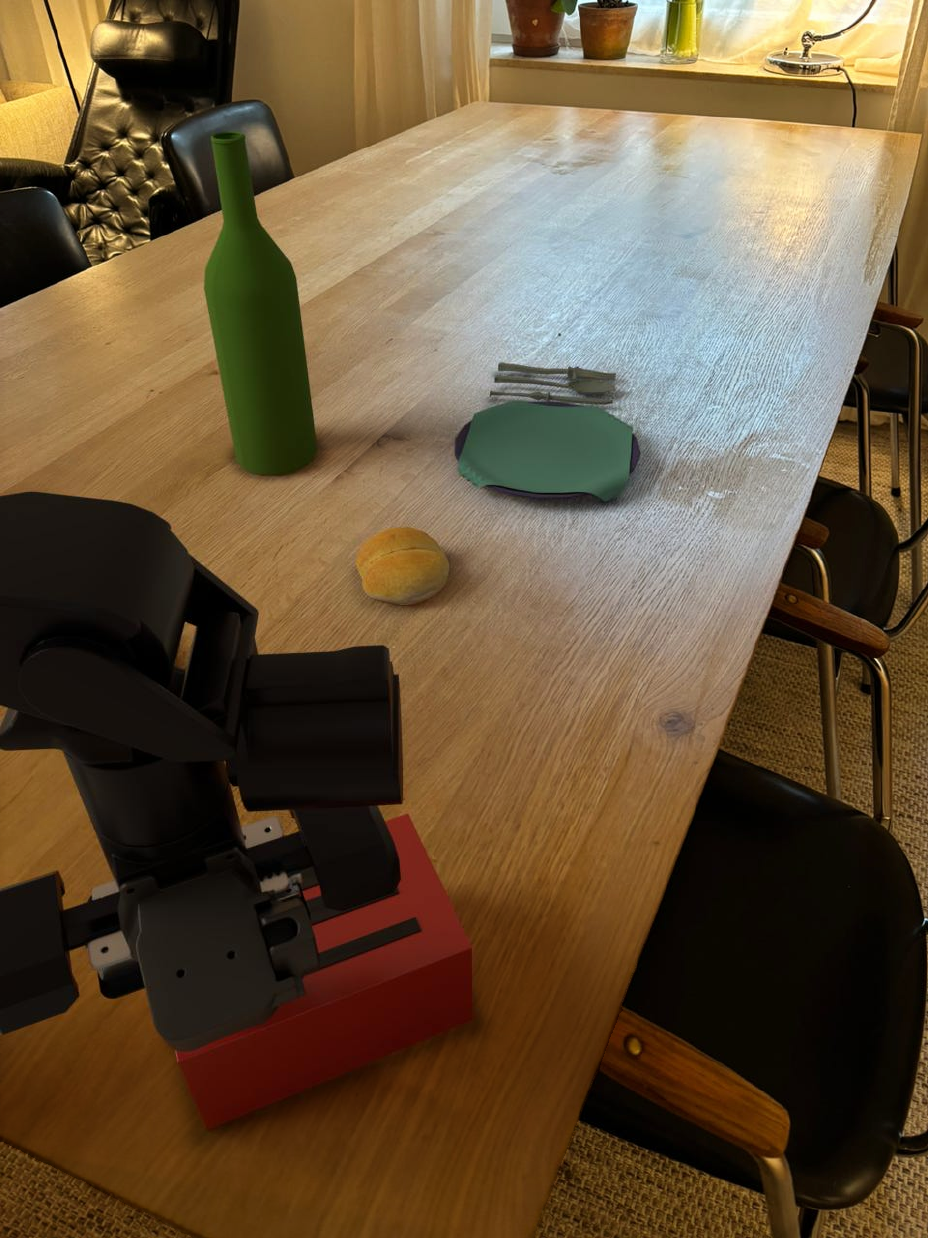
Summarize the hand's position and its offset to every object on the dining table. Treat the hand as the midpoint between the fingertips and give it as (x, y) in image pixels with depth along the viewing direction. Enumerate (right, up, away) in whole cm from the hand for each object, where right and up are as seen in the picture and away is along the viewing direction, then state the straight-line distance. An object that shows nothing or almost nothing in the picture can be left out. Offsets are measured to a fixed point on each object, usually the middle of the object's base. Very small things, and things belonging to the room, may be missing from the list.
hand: (222, 986), depth 51 cm
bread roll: (+7, +23, +41) cm, 47 cm away
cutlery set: (+22, +39, +60) cm, 75 cm away
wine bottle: (-8, +37, +58) cm, 69 cm away
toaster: (+4, -4, +9) cm, 11 cm away
